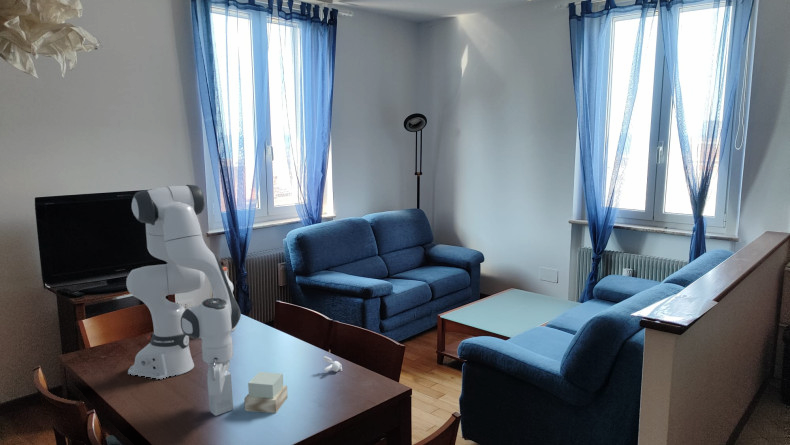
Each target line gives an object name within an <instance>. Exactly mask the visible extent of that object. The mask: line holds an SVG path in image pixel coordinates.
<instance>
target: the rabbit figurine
mask: <svg viewBox="0 0 790 445" xmlns="http://www.w3.org/2000/svg"><path fill="white" fill-rule="evenodd" d="M322 356H323V355H322ZM322 358H323V361H325V362H326V363H329V365H328V366H326V367H325V368H324V369H323V370H324V372H330V370H331V369H332V370H333V371H334V372H336V373H337V372H339V370H340V372H343V367H342V363H340V361H337V360H334V361H333V359H332V358H331V357H328V356H326V355H324V356H323V357H322Z"/></svg>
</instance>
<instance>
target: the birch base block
mask: <svg viewBox="0 0 790 445" xmlns="http://www.w3.org/2000/svg"><path fill="white" fill-rule="evenodd" d="M287 399H288V385H285V384H283V388H282V389H281V390H280V392H279V393H278V394H277V395H276V396H275V397H274V399H269V398H258V397H249V393H248V394H247V395H246V396H245V397H244V411H245V412H254V413H255V412H256V413H257V412H259V413H269V414H270V413H271V414H276V413H277V412H278V411H279V410H280V409H281V407H282V406H283V404H284V403H285V402H286V400H287Z"/></svg>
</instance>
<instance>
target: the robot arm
mask: <svg viewBox="0 0 790 445" xmlns="http://www.w3.org/2000/svg"><path fill="white" fill-rule="evenodd" d="M131 201H132V202H131V211H132V213H133V216H134V217H135V219H136V220H137V221H138V222H140V223H142V224H145V235H146V248H147V250H148V252H149V254H150V255H151V256H152V257H153V258H156V259H158V260H162V261H164V262H166V263H165V264H156V265H155V264H154V265H146V266H141V267H138V268H134V269H132V270H131V271H130V272H129V273H128V275H127V278H126V279H125V280H126V281H125V282H126V284H125V285H126V288H127V291H128V293H129V294H130V295H132V297H134V298H136V299H138V300H140V301H141V302H143V304H144V305H145V306H146V307H147V308H148V309H149V311H150V315H151V319H152V325H153V326H152V327H153V332H152V333H150V335H148V336H147V341H148V340H150V342H149V343H148V344H147V345H146V346H144V347H143V348H142V349H141V350H139V352H137V353H136V355H135V357H134V363H133V365H131V366H130V367H129V369H128V370H127V375H130V374H131V376H135V375H138V376H137V377H141V376H145V377H144V378H146V377H151V378H150V379H152V378H156V379H155V380H158V379H160V380H164V379H167V378H169V376H171V377H176V376H180V375H183V374H185V373H187V372H190V371H191V370H193V369H194V368H195V363H194V360H193V358H192V353H191V349H190V338H191V339H200V340H201V353H202V354H201V355H202V356H201V357H202V361H203V362H204V363H207V366H208V370H207V375H208V382H207V394H208V393H209V395H214V396H215V402H221V400H222V394H221V393H222V389H223V386H224V383H225V373H226V371H228V372H229V369H230V365H231V364H230V363H231V362H230V361H231V359H233V358H234V347H233V338H232V334H231V333H232V332H231V329H233V328H235V326H236V327H237V325H238V324H239V321H240V320H241V315H242V312H241V309H240V306H239V304H238V302H237V300H236V298H235V296H234V297H233V295H234V293H233V294H232V292H231V289H230V286H229V284H228V281H227V279H226V276H225V273H224V271H223V268H222V267H223V266H222V264H221V263H222V262H221V260H220V259H219V257H218V255H217V253H216V252H215V251H213V250H211V249H209V247H208V245H207V244H206V242H205V239H204V237H203V233H202V229H201V228H202V227H201V224H200V222H199V219H198V216H197V215H200V214H201V213H203V211H204V210H205V203H206V200H205V196H204V192H203V191H202V189H201V188H200V187H199V186H198V185H195V184H186V185H167V186H163V187H158V188H153V189H149V190H147V189H145V190H140V191H137V192H135V193H134V195H133V197H132V199H131ZM206 277H207V278H208V281H209V283H210V286H211V290H212V289H213V292H214V294H215V297H216V298H213V297H210V298H207V299H205V300H203V301H202V302H201V303H200V304H198V305H195V306H191V307H187V308H185V307H184V306H183V305H181V304H179V303H177V302H174V301H170V300H168V299H167V298H166V297H167V296H169V295H171V296H172V295H177V294H186V293H191V292H193V291H194V292H195V291H197V290H200V289H202V287H203V285H204V283H205V280H206ZM175 375H176V376H175ZM166 377H167V378H166ZM163 378H164V379H163ZM209 395H208V396H209Z"/></svg>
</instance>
